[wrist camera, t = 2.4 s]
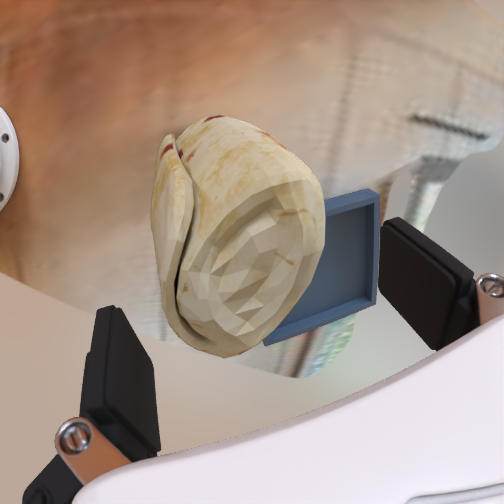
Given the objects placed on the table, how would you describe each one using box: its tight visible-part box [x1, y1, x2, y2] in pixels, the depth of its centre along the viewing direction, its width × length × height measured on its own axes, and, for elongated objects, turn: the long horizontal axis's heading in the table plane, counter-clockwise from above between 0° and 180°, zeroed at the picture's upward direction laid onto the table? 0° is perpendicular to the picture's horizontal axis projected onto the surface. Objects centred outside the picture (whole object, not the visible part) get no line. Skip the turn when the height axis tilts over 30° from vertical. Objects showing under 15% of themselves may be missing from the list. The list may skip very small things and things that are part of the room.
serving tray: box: [262, 188, 380, 346], centre depth 36 cm, size 16×16×2 cm
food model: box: [151, 115, 325, 358], centre depth 19 cm, size 10×7×20 cm
